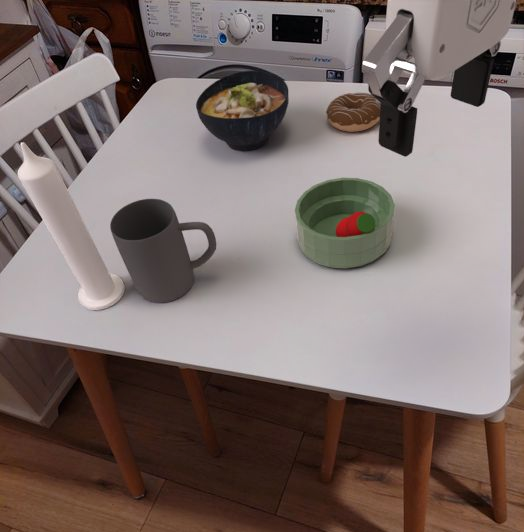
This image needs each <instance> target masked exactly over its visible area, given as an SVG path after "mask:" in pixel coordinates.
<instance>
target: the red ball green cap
mask: <svg viewBox="0 0 524 532" xmlns="http://www.w3.org/2000/svg"><path fill="white" fill-rule="evenodd" d="M348 218H349V217H347V218H344V219H342V220H341V221H340V222H339V223H338V225H337V227H336V236H337V237H350V236H349V235H348V234H347V231H346V222H347V220H348Z"/></svg>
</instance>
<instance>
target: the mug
mask: <svg viewBox="0 0 524 532" xmlns="http://www.w3.org/2000/svg"><path fill="white" fill-rule="evenodd" d="M195 230H196V231H197V230H198V231H199V230H200V231H202V232H203V233H204V234H205V236H206V239H207V243H208V246H207V249H206V250H205V251H204V253H203V254H201V255H200V256H199V257H198V258H196V259H193V260H191V256H190V253H189V249H188V246H187V244H186V240H185V236H184V234H183V232H184V231H185V232H186V231H195ZM110 232H111V235H112V239H113V241H114V243H115V246H116V248H117V250H118V252H119V255H120V257H121V259H122V262H123V263H124V265H125V268H126V271H127V272H128V273H129V274H128V275H129V277H130V279H131V281H132V284H134V287H135V289H136V291H137V292H138V294H139V295H140V296H141V297H142V298H143V299H144V300H146V301H147V302H151V303H155V304H156V303H157V304H161V303H162V304H164V303H169V302H172V301H176V300H177V299H180V298H181V297H183V296H185V294H187V293H188V292H189V290H190V289H191V288H192V286H193V284H194V281H195V271H194V269H197V268H200V267H201V266H203V265H204V264H205V263H207V262H208V261H209V260H210V259H211V258H212V257H213V255H214V254H215V252H216V250H217V238H216V235H215V232H214V230H213V229H212V227H211V226H210V225H209V224H208V223H206V222H204V221H188V222H187V221H186V222H180V221H179V218H178V216H177V213H176V211H175V209H174V207H173V206H172V204H171V203H169V202H168V201H165V200H163V199H159V198H143V199H138V200H135V201H132V202H130V203H128V204H126V205H125V206H123V207H121V208H120V209H119V210H118V211H116V212H115V214H114V215H113V216H112V218H111V221H110Z"/></svg>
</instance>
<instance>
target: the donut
mask: <svg viewBox="0 0 524 532" xmlns="http://www.w3.org/2000/svg"><path fill="white" fill-rule="evenodd" d="M380 107H381V104H380V103H378V102H376V100H375V97H374V96H373V95H372V94H371V93H370V92H369V93H368V92H349V93H344V94H341V95H339V96H337V97H335V98H334V99H332V100H331V102H330V103H329V104H328V106H327V109H326V112H325V113H326V117H327V120H328V122H329V124H330V125H331V126H332V127H334V128H335V129H337V130H339V131H343V132H349V133H351V132H352V133H353V132H354V133H355V132H361V131H364V130H369V129H370V128H372V127H374V126H375V125H376V124H377V123H378V122H380Z"/></svg>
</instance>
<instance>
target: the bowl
mask: <svg viewBox="0 0 524 532" xmlns="http://www.w3.org/2000/svg"><path fill="white" fill-rule="evenodd" d="M289 99H290V98H289V86H288V84H287V82H286V81H285V80H284V79H283V78H281V76H279V75H277V74H276V73H272V72H269V71H262V70H245V71H243V70H242V71H237V72H233V73H230V74H228V75H226V76H223V77H221V78H219V79H217V80H216V81H214V82H213V83H211V84H210V85H209V86H207V87H206V88H205V89H204V90H203V91H202V92H201V94H199V96H198V97H197V100H196V102H195V108H196V112H197V115H198V119H199V120H200V121H201V123H202V124H203V126H204V127H205V129H206V130H208V132H209V133H210V134H212V135H213V136H214V137H216V138H217V139H218V140H220V141H222V142H224V143H225V144H226V145H227V146H228V147H229V148H230V149H231V150H234V151H238V152H248V151H254V150H257V149H259V148H261V147H264V146H265V145H266V144H268V142H269V141H270V138H271V136H272V134H273V133H274V132H275V131H277V129H278V127H279V126H280V125H281V123H282V121H283V119H284V118H285V116H286V113H287V109H288V107H289V104H290V103H289Z"/></svg>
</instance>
